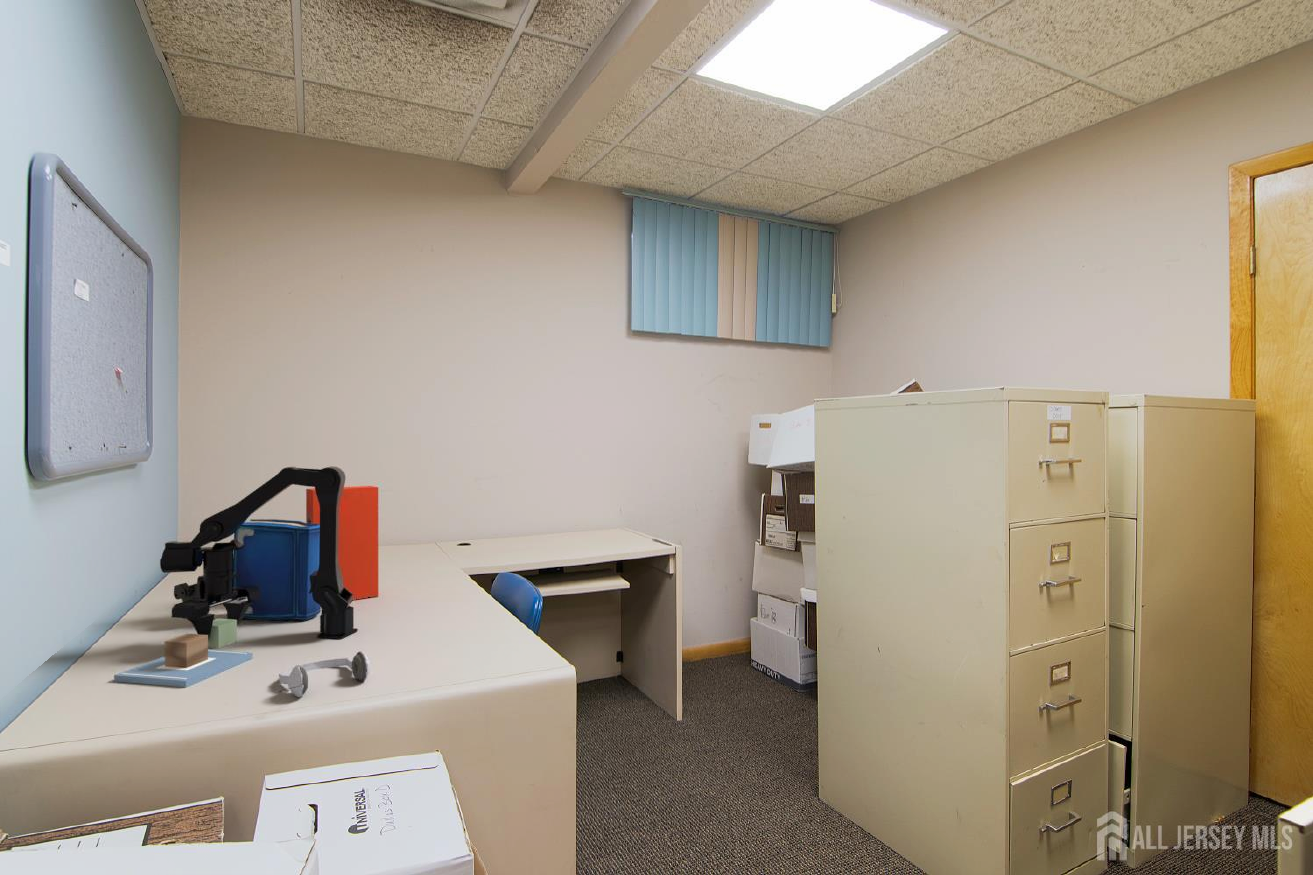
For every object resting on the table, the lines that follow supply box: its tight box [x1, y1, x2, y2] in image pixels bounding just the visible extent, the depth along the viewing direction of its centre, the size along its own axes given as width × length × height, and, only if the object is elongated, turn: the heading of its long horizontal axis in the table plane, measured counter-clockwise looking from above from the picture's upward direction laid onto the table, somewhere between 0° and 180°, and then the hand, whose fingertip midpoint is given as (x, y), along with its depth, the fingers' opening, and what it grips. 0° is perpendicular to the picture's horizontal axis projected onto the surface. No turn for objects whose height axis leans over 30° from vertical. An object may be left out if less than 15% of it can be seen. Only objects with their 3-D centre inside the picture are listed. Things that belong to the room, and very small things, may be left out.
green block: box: [208, 618, 238, 649], centre depth 148 cm, size 5×5×5 cm
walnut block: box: [164, 633, 209, 668], centre depth 132 cm, size 5×5×5 cm
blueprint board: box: [113, 649, 254, 688], centre depth 132 cm, size 16×16×1 cm
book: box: [233, 518, 322, 622], centre depth 169 cm, size 22×7×25 cm, turn 84°
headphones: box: [278, 651, 371, 698], centre depth 124 cm, size 17×6×20 cm
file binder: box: [305, 485, 379, 601], centre depth 188 cm, size 8×17×32 cm, turn 131°
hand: (218, 638), depth 148 cm, fingers open, 7 cm apart
